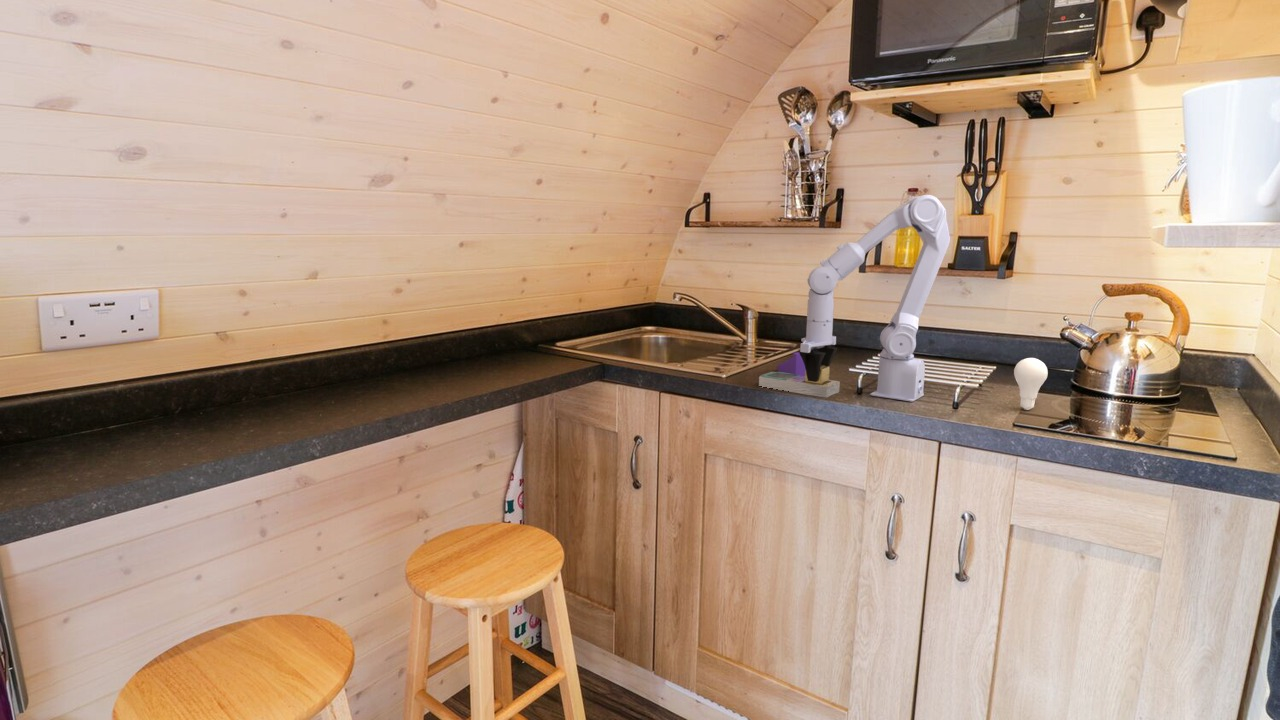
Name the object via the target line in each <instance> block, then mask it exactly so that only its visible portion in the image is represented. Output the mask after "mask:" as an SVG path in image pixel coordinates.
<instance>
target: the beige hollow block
mask: <svg viewBox="0 0 1280 720" xmlns="http://www.w3.org/2000/svg"><path fill="white" fill-rule="evenodd" d="M830 366H831V365H830ZM830 366H825V365H821V366H820V372H819V378H818V381H817V382H813V381H808V379H807V374H806V370H805V383H812V384H818V385H824V384H827V383H829V380H830Z"/></svg>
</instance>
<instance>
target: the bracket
mask: <svg viewBox="0 0 1280 720" xmlns="http://www.w3.org/2000/svg"><path fill="white" fill-rule="evenodd" d="M776 366H777V367H776V368H777V369H776V370H777V372H784V373H791V374H798V375H799V376H805V370H806V369H805V365H804V362H803V360H802V358H801V356H800V354H799V351H798V352H792V357H791V358H789V359H786V360H785V361H783V362H781V363H779V364H778V365H776Z"/></svg>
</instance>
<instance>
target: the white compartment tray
mask: <svg viewBox="0 0 1280 720" xmlns="http://www.w3.org/2000/svg"><path fill="white" fill-rule="evenodd" d="M840 382H841V381H838V380H832V379H829V383H827V384H824V385H818V384H812V383H805V376H799V375H798V374H791V373H784V372H780V371H770V372H766V373H763V374H761V375H760V376H759V377H758V387H759V386H762V387H761V388H763V387H767V388H766V389H769V388H773V389H772V390H776V389H778V390H777V391H782V390H784V392H788V391H789V393H794V394H795V393H796V394H801V395H808V396H814V397H819V398H826V399H827V398H829V397H830V396H833V395H836V394H838V393H839V392H840V384H841V383H840Z"/></svg>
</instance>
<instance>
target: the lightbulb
mask: <svg viewBox="0 0 1280 720" xmlns="http://www.w3.org/2000/svg"><path fill="white" fill-rule="evenodd" d="M1048 374H1049V371H1048V367H1047V366H1046V364H1045V363H1044V362H1043V361H1042V360H1040V359H1038V358H1035V357H1026V358H1024V359H1021V360H1020V361H1018V362H1017V363H1016V365H1015V367H1014V369H1013V375H1014V376H1013V377H1014V378H1015V381H1016V382H1017V385H1018V389H1019V397H1020V403H1019V404H1020V407H1021V408H1022V409H1023V410H1025V411H1030V410H1031V409H1033V408H1035V402H1036V399H1037V397H1038V393H1039V391H1040V388H1041V386H1043V384H1044V383H1045V381H1046V380H1047V378H1048Z"/></svg>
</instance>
